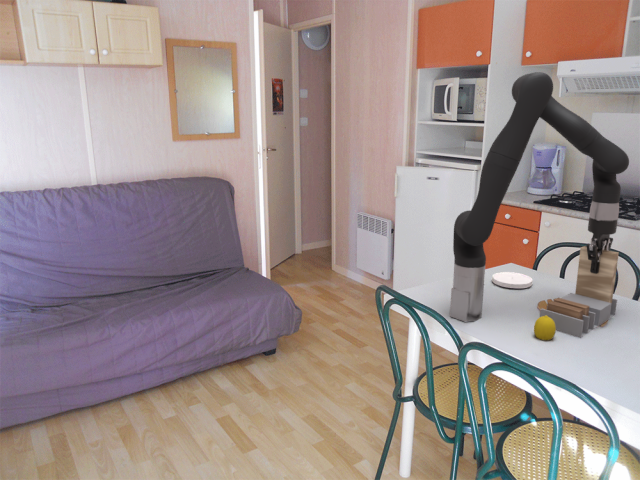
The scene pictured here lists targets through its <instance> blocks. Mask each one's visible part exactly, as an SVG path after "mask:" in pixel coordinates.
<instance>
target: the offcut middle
mask: <svg viewBox="0 0 640 480" xmlns="http://www.w3.org/2000/svg"><path fill="white" fill-rule="evenodd" d="M561 298H562V297H557V298H555V299H553V301H554V302H558V303H561V304H565V305H569V306H572V307H576V308H579V309H583V315H585V316H588V314H589V306H587V305H584V304H580V303H576V302H573V301H569V300H565V299H561Z"/></svg>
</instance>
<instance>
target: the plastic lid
mask: <svg viewBox="0 0 640 480" xmlns="http://www.w3.org/2000/svg"><path fill="white" fill-rule="evenodd" d="M491 282H493V284H495V285H496V286H499V287H503V288H509V289H526V288H530V287H532V286H533V278H532V277H531V276H529V275H526V274H523V273H521V272H520V273H519V272H513V271H502V272H501V271H500V272H496V273H493V274H492V277H491Z"/></svg>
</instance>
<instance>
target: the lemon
mask: <svg viewBox="0 0 640 480" xmlns="http://www.w3.org/2000/svg"><path fill="white" fill-rule="evenodd" d="M556 331H557V330H556V327H555V322H554V321H553V320H552V319H551V318H550V317H548V316H547V315H545V316H542V317H540V316H539V317H538V318H537V319H536V321H535V322H534V325H533V332H534V336H535V337H536V338H537V339H538V340H542V341H551V340H552V339H553V338H554V337H555V335H556Z"/></svg>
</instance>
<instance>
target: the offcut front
mask: <svg viewBox="0 0 640 480" xmlns="http://www.w3.org/2000/svg"><path fill="white" fill-rule="evenodd" d="M547 305H548V307H547V306H546V310H549V311H552V312H556V313H559V314H563V315H566V316H569V317H573V318H576V319H580V320H582V318H583V309H579V308H576V307H572V306H569V305H565V304H561V303H558V302H554V300H551V301H549V302H547Z"/></svg>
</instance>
